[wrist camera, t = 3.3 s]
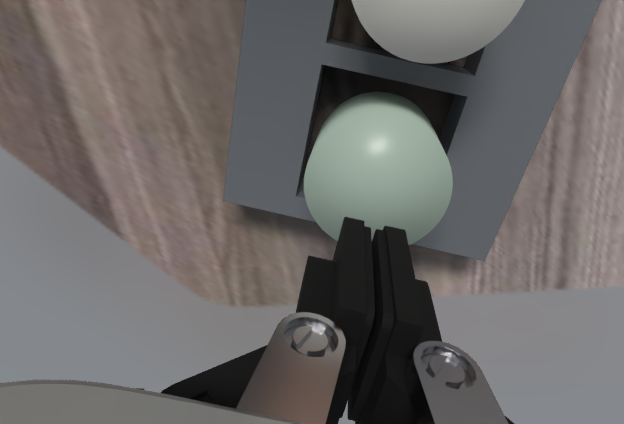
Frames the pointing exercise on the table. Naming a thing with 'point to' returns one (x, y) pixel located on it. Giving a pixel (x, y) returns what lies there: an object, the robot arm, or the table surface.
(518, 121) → the pebble holder tray
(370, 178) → the sage egg
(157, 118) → the table surface
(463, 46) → the cream egg
